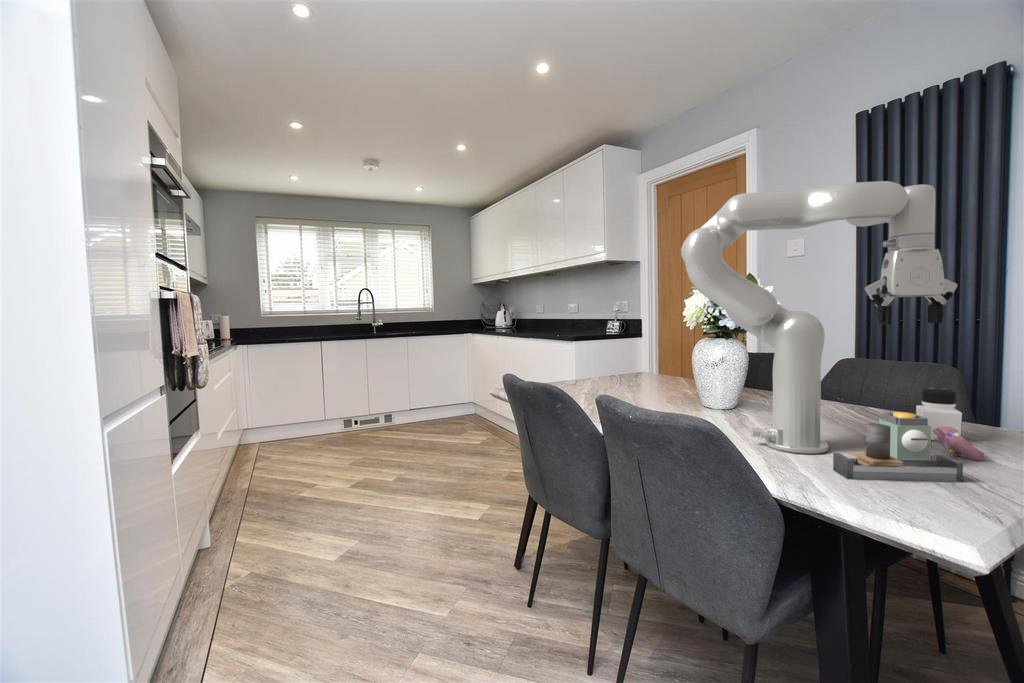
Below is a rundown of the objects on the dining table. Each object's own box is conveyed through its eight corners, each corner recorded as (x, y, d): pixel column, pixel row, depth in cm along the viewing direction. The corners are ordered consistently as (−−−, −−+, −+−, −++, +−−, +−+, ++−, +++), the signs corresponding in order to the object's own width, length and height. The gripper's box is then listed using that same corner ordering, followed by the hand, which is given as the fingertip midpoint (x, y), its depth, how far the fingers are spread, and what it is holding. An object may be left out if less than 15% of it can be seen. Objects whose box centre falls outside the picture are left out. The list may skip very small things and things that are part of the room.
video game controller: (941, 454, 104) (924, 426, 105) (965, 447, 102) (947, 418, 103) (961, 468, 95) (942, 437, 96) (988, 460, 93) (968, 428, 94)
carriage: (872, 471, 85) (873, 429, 85) (854, 460, 91) (854, 422, 91) (903, 471, 85) (903, 429, 84) (882, 461, 90) (882, 422, 90)
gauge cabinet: (898, 465, 93) (899, 419, 93) (878, 455, 100) (879, 412, 99) (932, 466, 92) (933, 419, 92) (909, 456, 99) (910, 412, 98)
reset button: (900, 423, 94) (900, 415, 94) (888, 419, 98) (888, 411, 98) (920, 423, 94) (920, 415, 94) (907, 419, 97) (908, 411, 97)
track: (847, 478, 87) (847, 460, 86) (833, 470, 91) (833, 452, 91) (962, 481, 84) (963, 462, 83) (941, 472, 88) (942, 454, 88)
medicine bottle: (962, 443, 107) (963, 391, 106) (921, 439, 111) (922, 390, 110) (953, 435, 113) (954, 387, 112) (915, 432, 117) (916, 385, 116)
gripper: (877, 244, 97) (876, 325, 98) (970, 240, 95) (968, 323, 96) (856, 249, 105) (855, 324, 106) (942, 245, 102) (941, 322, 103)
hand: (909, 323), depth 101 cm, fingers open, 9 cm apart
